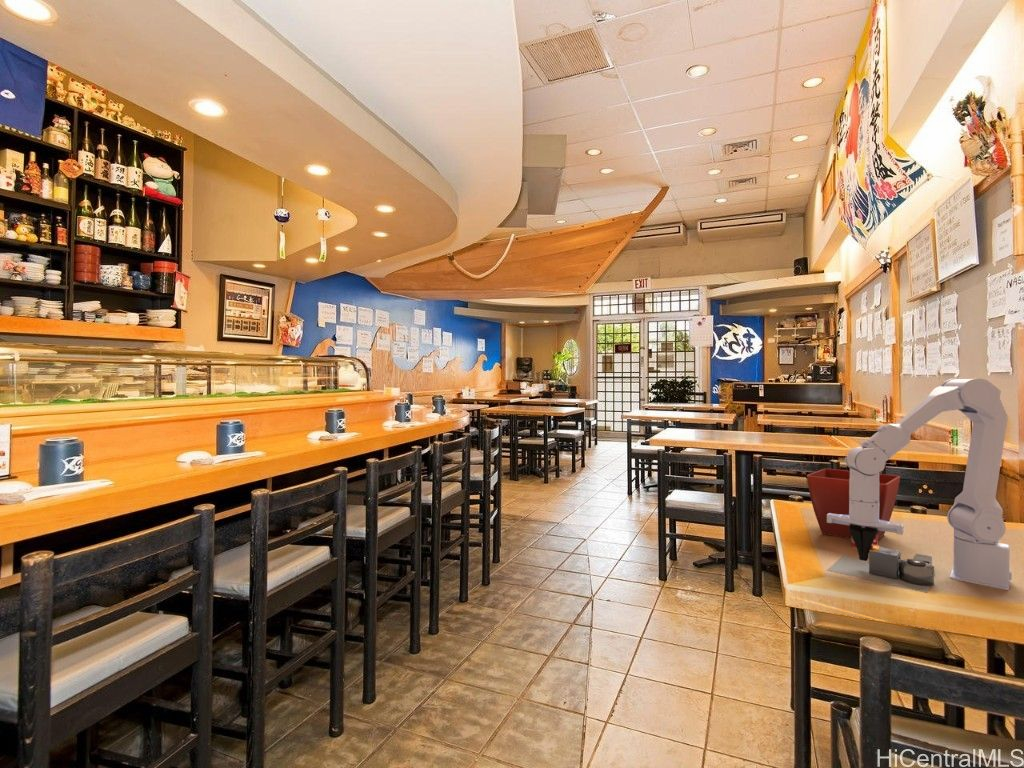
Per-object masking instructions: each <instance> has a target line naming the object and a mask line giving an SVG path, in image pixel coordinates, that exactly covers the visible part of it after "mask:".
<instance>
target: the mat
mask: <svg viewBox="0 0 1024 768" xmlns="http://www.w3.org/2000/svg"><path fill="white" fill-rule="evenodd" d="M826 571H828V572H833V573H836V574H841V575H845V576H850V577H855V578H859V579H864V580H868V581H872V582H877V583H881V584H886V585H890V586H895V587H900V588H904V589H908V590H912V591H913V590H914V591H917V592H923V593H926V594H927V593H928V591H929V589H930V587H931V586H920V585H914V584H910V583H907V582H904V581H902V580H901V579H899V576H898V578H897V579H894V578H889V577H885V576H880V575H876V574H871V573H869V560H867V561H863V560H859V558H854V557H850V556H844V555H841V556H840V557H839V558H838V559H837V560H836V561H834V562H833V564H832V565H831V566H829V568H827V569H826ZM935 575H936V574H935V573H934V577H935Z"/></svg>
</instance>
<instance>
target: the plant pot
mask: <svg viewBox="0 0 1024 768" xmlns="http://www.w3.org/2000/svg"><path fill="white" fill-rule="evenodd" d="M806 479H807V485H808V492H809V497H810V501H811V504H812V509H813V512H814V515H815V518H816V520H817V525H818V526H819V529H820V531H821V533H822V534H824V535H828V536H834V537H839V538H845V539H849V540H852V539H851V534H850V533H849V527H850V525H844V524H838V523H827V514H828V513H832V514H842V515H849V479H850V470H846V469H837V468H836V469H833V468H823V469H820V470H818V471H815V472H812V473H808V474H806ZM900 481H901V476H900V475H895V474H894V475H893V474H883V473H879V520H884V521H888V522H891V521H890V520H891V517H892V514H893V511H894V508H895V505H896V502H897V501H896V500H897V497H898V491H899V487H900ZM885 533H886V531H880V530H879V532H878V540H880V539H881V538H882V537H883V536H884V535H885Z"/></svg>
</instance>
